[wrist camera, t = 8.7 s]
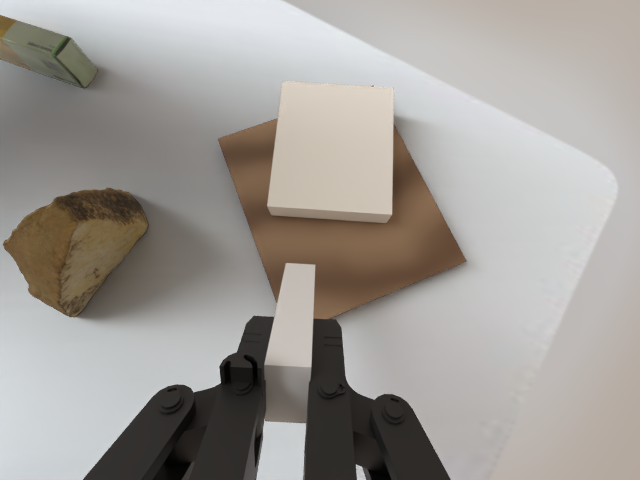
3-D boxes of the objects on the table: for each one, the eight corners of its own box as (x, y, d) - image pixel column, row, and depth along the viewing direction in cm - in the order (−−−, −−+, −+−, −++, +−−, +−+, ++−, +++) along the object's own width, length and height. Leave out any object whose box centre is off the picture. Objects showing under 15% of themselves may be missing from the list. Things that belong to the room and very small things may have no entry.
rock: (54, 359, 23) (165, 282, 23) (-94, 302, 18) (52, 201, 18) (83, 271, 32) (165, 214, 32) (-12, 213, 26) (88, 145, 26)
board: (221, 145, 30) (217, 138, 29) (371, 94, 32) (373, 85, 31) (290, 334, 26) (288, 335, 25) (460, 263, 27) (466, 261, 26)
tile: (392, 214, 25) (393, 88, 28) (267, 206, 25) (282, 81, 28) (386, 223, 27) (388, 106, 30) (271, 216, 27) (285, 99, 30)
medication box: (101, 70, 33) (72, 36, 29) (87, 90, 32) (56, 57, 28) (5, 39, 34) (-35, 2, 30) (-10, 57, 33) (-53, 22, 30)
